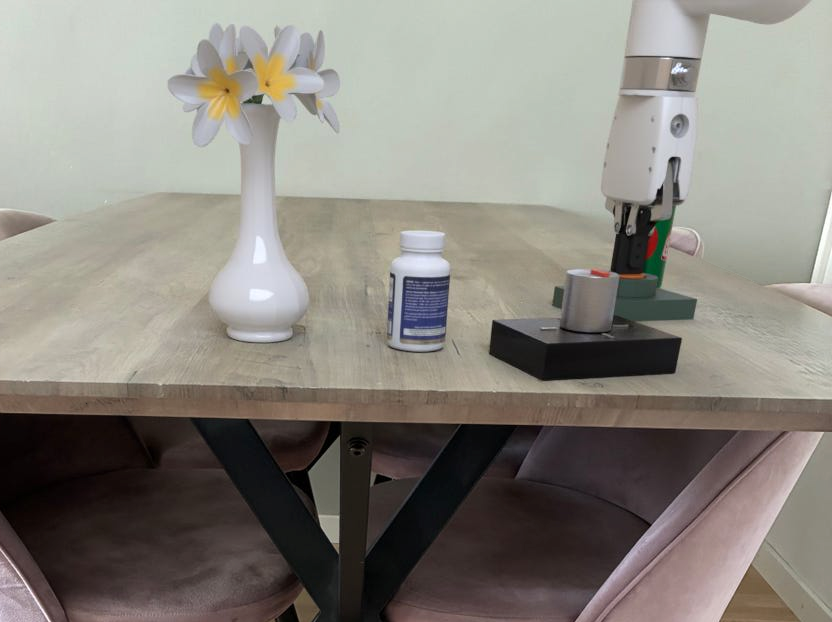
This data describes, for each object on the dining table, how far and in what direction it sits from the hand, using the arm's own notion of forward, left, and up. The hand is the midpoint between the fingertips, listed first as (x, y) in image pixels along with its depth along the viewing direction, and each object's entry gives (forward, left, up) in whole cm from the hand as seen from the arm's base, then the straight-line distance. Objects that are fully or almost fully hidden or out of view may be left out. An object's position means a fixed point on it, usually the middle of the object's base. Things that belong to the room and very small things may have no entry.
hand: (626, 273), depth 105 cm
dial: (+18, +21, -1) cm, 28 cm away
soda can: (-12, -14, -4) cm, 19 cm away
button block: (0, 0, -4) cm, 4 cm away
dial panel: (+18, +21, -4) cm, 28 cm away
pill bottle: (+30, +12, -4) cm, 33 cm away
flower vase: (+43, +6, -4) cm, 44 cm away
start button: (0, 0, -2) cm, 2 cm away
